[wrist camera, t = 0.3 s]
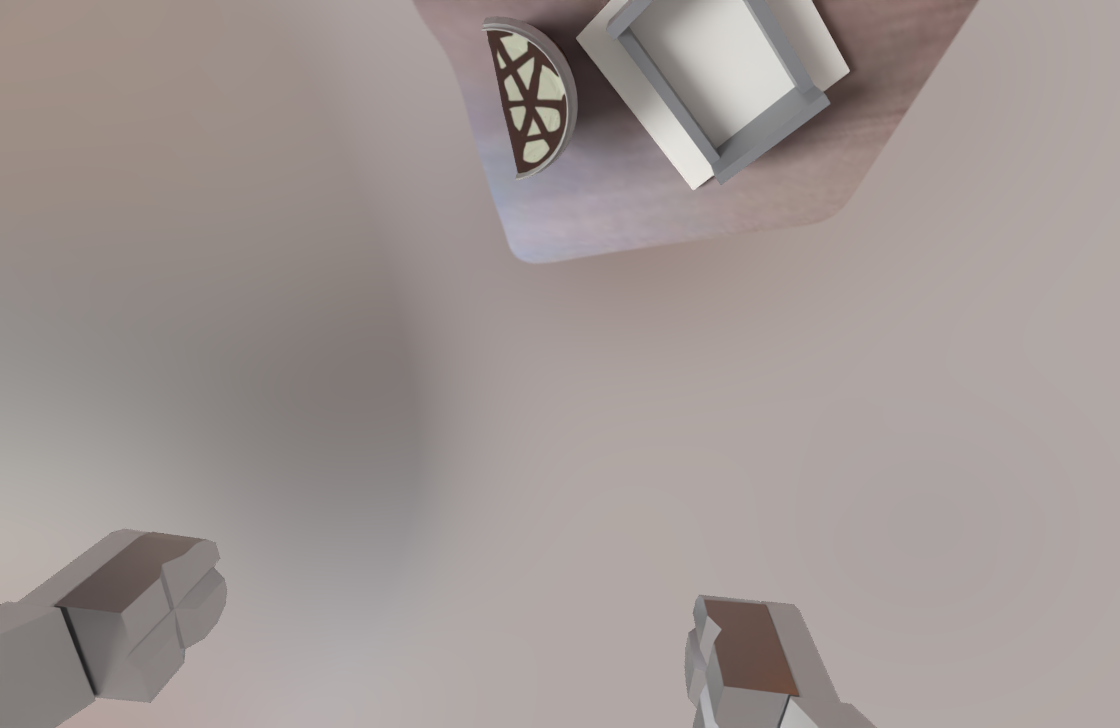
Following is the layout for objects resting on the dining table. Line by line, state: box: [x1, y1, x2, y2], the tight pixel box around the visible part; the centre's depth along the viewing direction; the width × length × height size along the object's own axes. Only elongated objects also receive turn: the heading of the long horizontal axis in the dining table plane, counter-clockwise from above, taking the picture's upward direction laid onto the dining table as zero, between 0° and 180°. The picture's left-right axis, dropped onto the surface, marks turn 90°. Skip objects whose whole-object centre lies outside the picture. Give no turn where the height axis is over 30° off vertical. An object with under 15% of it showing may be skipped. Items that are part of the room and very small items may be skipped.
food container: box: [482, 17, 578, 180], centre depth 45 cm, size 12×6×10 cm, turn 10°
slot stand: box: [576, 0, 850, 190], centre depth 43 cm, size 16×18×7 cm
